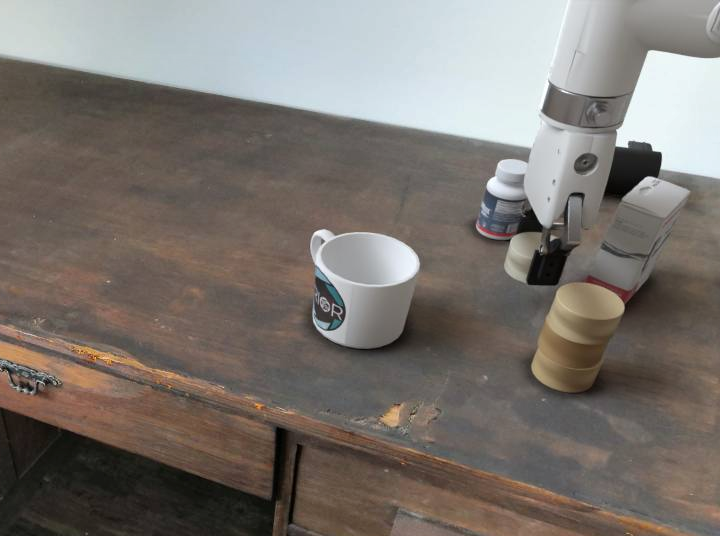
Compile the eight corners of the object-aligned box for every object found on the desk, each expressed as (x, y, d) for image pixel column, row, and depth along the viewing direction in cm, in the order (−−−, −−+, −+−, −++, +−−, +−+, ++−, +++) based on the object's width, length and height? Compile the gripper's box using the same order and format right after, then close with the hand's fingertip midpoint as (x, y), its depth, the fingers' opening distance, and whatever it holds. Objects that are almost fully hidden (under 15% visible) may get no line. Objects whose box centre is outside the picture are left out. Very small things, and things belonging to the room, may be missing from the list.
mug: (427, 328, 83) (442, 265, 78) (355, 364, 79) (367, 299, 73) (342, 272, 92) (350, 211, 86) (272, 301, 87) (277, 239, 82)
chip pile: (583, 355, 80) (603, 307, 76) (601, 394, 76) (623, 346, 72) (522, 351, 81) (539, 304, 77) (536, 391, 76) (555, 343, 72)
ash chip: (553, 256, 86) (561, 232, 84) (568, 286, 82) (576, 262, 80) (498, 254, 87) (505, 230, 85) (510, 284, 82) (517, 260, 80)
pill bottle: (474, 218, 101) (491, 154, 96) (515, 222, 101) (535, 158, 95) (476, 238, 98) (494, 173, 92) (519, 243, 97) (540, 177, 91)
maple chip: (602, 309, 76) (613, 283, 74) (622, 347, 72) (634, 321, 70) (540, 305, 77) (549, 280, 75) (556, 343, 72) (566, 317, 70)
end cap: (566, 198, 106) (582, 151, 101) (564, 175, 111) (580, 129, 106) (645, 209, 104) (665, 162, 99) (639, 185, 109) (658, 139, 104)
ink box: (623, 311, 86) (666, 216, 78) (578, 294, 89) (616, 199, 81) (650, 280, 91) (693, 187, 83) (608, 264, 93) (645, 172, 86)
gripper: (659, 142, 65) (592, 314, 77) (598, 69, 78) (549, 226, 90) (568, 140, 66) (515, 312, 78) (522, 68, 79) (483, 225, 91)
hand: (534, 265), depth 84 cm, fingers closed on ash chip, 6 cm apart
